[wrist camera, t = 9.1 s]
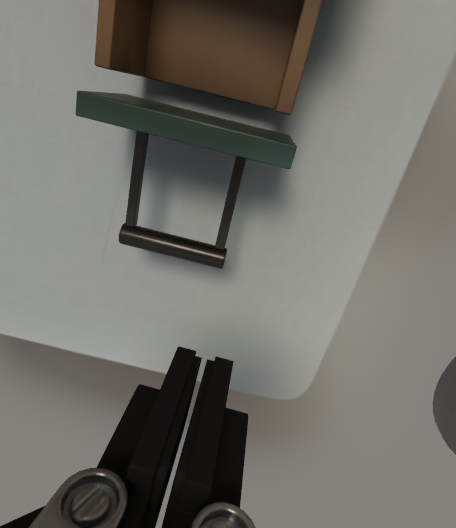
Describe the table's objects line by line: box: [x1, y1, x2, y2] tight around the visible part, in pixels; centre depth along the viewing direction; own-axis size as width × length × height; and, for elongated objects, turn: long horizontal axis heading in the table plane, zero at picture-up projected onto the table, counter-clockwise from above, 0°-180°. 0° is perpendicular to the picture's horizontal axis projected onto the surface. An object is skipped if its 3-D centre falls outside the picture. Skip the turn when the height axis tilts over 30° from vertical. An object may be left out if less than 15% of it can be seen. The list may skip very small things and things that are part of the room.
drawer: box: [76, 0, 323, 269], centre depth 21 cm, size 21×11×7 cm, turn 167°
